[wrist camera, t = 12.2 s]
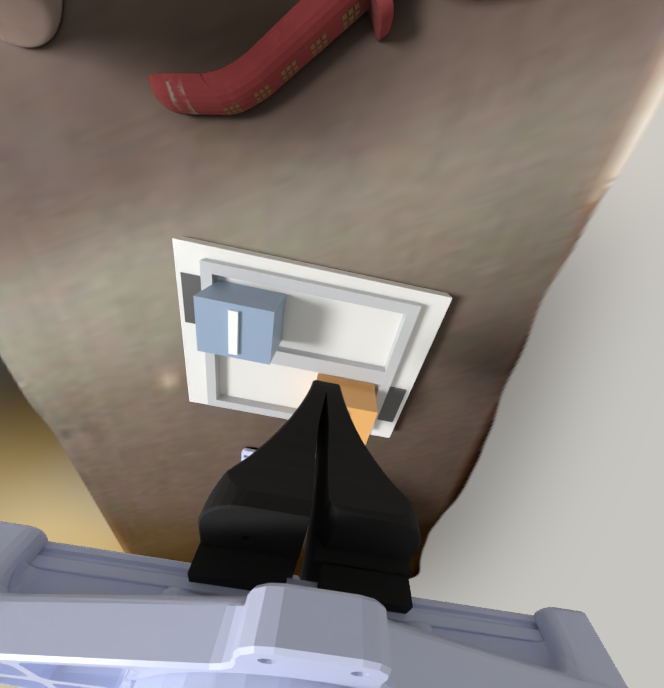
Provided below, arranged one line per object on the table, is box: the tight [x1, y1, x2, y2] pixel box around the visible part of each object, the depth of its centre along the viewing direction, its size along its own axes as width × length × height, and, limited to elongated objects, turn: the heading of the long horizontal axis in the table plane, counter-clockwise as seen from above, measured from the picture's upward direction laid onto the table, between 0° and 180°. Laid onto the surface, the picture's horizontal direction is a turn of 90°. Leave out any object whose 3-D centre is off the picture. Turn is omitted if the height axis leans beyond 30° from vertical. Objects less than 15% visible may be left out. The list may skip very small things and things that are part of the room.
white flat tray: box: [172, 236, 452, 438], centre depth 22 cm, size 15×20×2 cm
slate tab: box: [193, 280, 286, 365], centre depth 18 cm, size 4×5×4 cm
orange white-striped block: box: [317, 373, 378, 445], centre depth 22 cm, size 4×5×4 cm
